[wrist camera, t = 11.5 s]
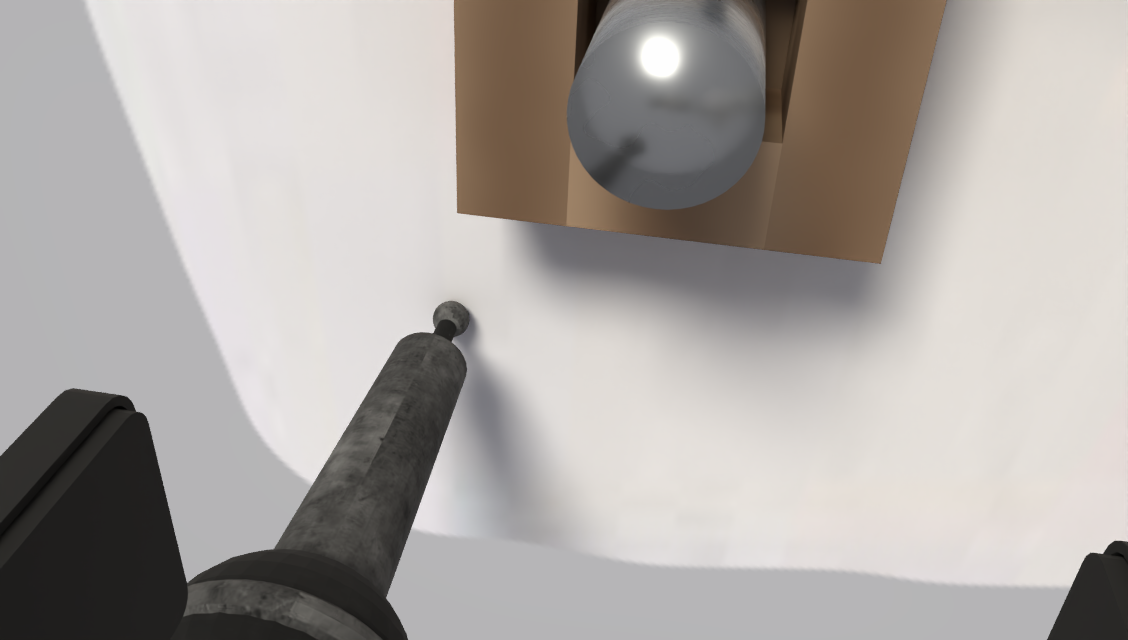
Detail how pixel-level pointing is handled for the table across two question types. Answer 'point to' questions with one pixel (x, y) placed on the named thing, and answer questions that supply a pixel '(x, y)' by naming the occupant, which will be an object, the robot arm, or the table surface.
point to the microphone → (346, 513)
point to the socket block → (789, 145)
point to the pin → (671, 99)
